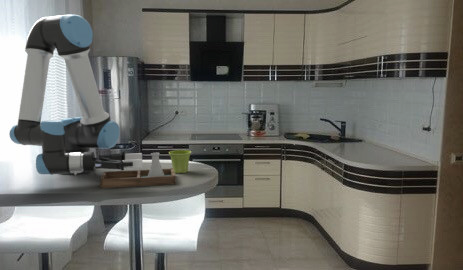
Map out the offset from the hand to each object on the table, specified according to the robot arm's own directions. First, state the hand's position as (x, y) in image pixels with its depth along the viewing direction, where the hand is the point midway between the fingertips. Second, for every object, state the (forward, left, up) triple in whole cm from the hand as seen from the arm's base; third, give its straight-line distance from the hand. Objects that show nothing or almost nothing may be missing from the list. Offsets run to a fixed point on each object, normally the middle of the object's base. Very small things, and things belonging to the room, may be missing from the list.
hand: (142, 159), depth 145 cm
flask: (0, +5, -8) cm, 9 cm away
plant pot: (-13, +16, -9) cm, 22 cm away
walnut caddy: (0, -1, -8) cm, 9 cm away
